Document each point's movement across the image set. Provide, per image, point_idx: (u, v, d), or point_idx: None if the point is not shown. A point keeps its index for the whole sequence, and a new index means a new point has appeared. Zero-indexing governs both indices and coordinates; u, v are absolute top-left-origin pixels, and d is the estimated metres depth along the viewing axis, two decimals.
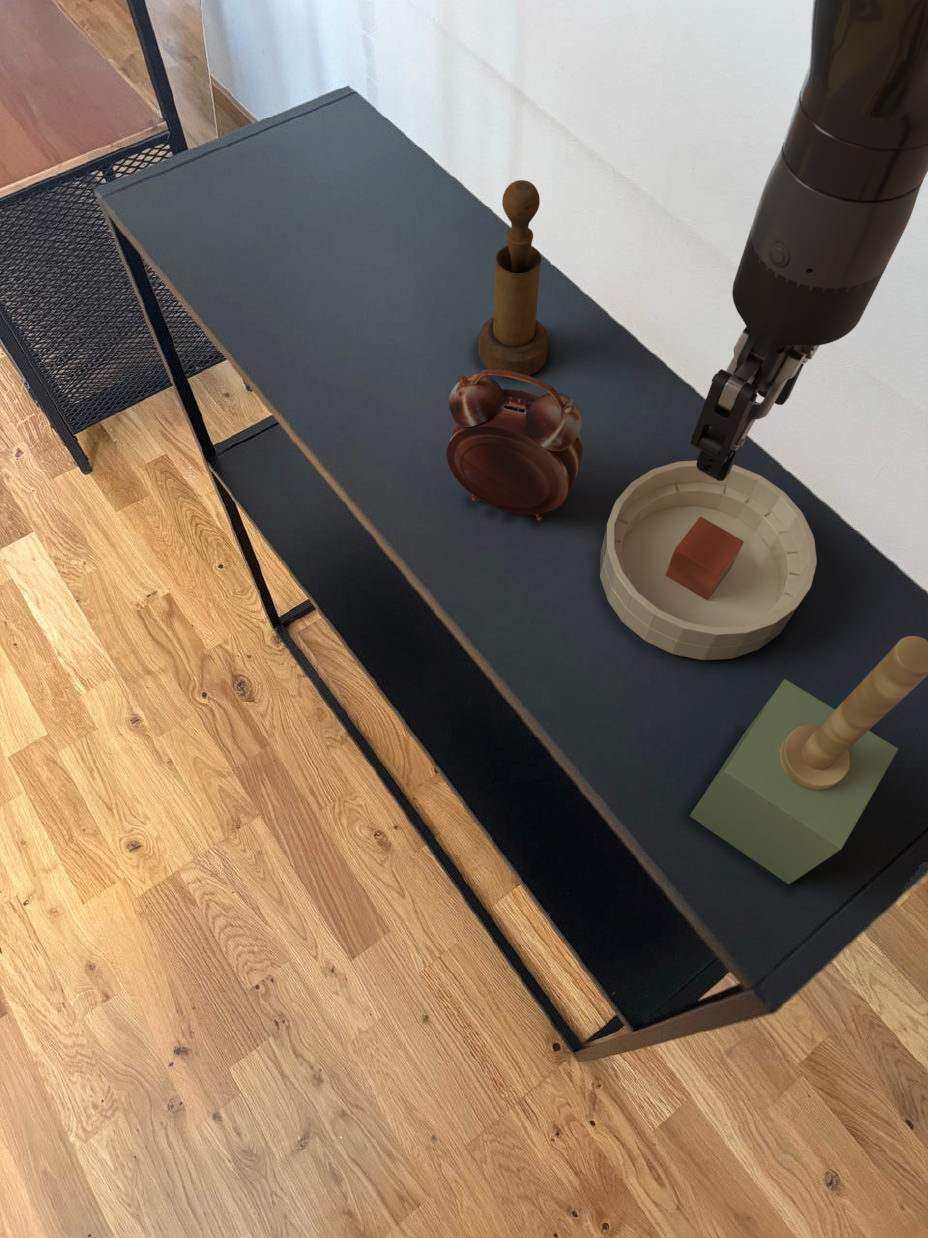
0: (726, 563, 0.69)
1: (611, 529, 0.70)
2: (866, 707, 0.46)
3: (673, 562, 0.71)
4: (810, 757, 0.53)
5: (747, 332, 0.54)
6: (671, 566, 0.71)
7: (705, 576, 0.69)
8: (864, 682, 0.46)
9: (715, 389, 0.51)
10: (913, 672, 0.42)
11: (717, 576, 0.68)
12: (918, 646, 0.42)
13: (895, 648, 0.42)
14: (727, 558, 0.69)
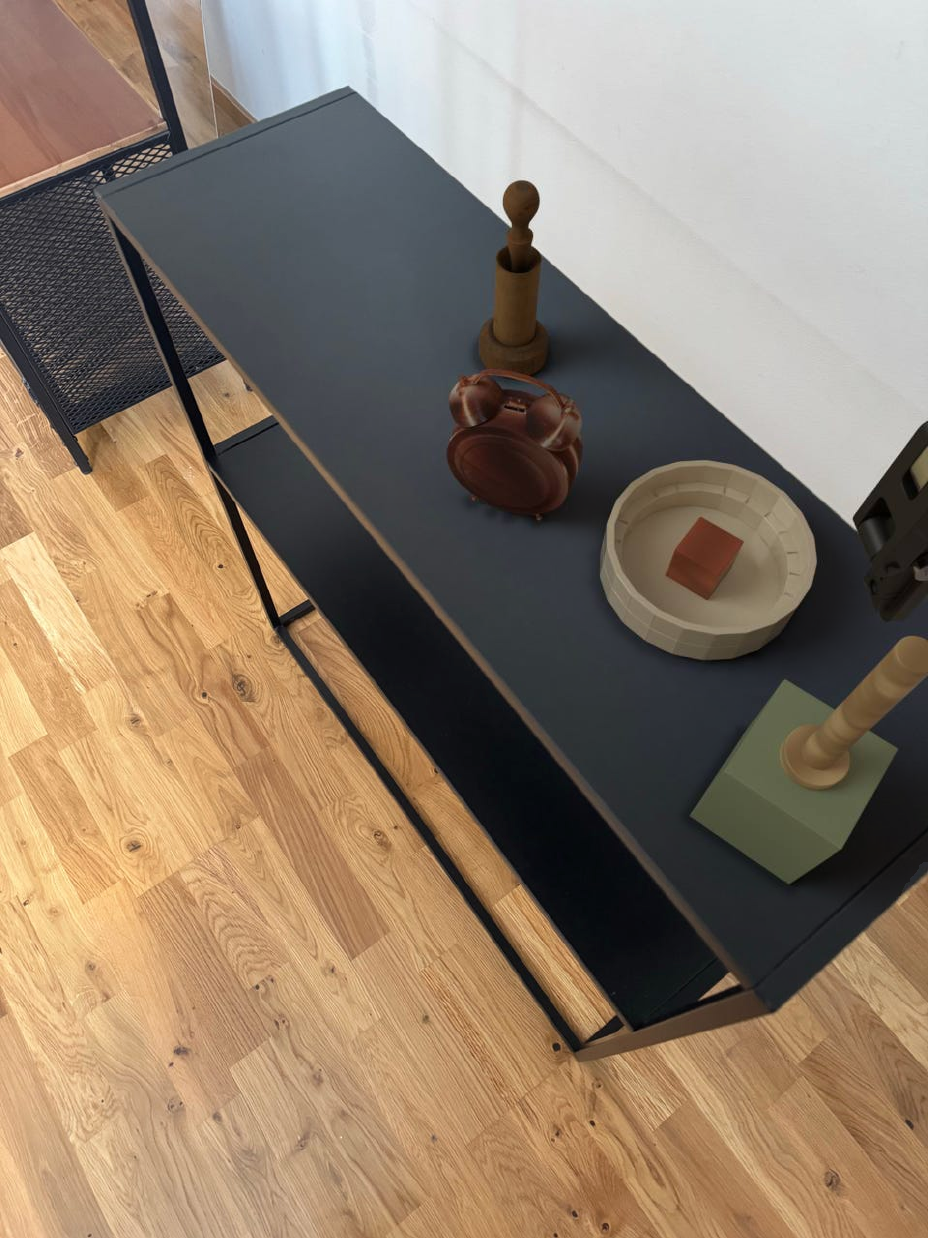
0: (726, 563, 0.69)
1: (611, 529, 0.70)
2: (866, 707, 0.46)
3: (673, 562, 0.71)
4: (810, 757, 0.53)
5: None
6: (671, 566, 0.71)
7: (705, 576, 0.69)
8: (864, 682, 0.46)
9: (918, 440, 0.29)
10: (913, 672, 0.42)
11: (717, 576, 0.68)
12: (918, 646, 0.42)
13: (895, 648, 0.42)
14: (727, 558, 0.69)
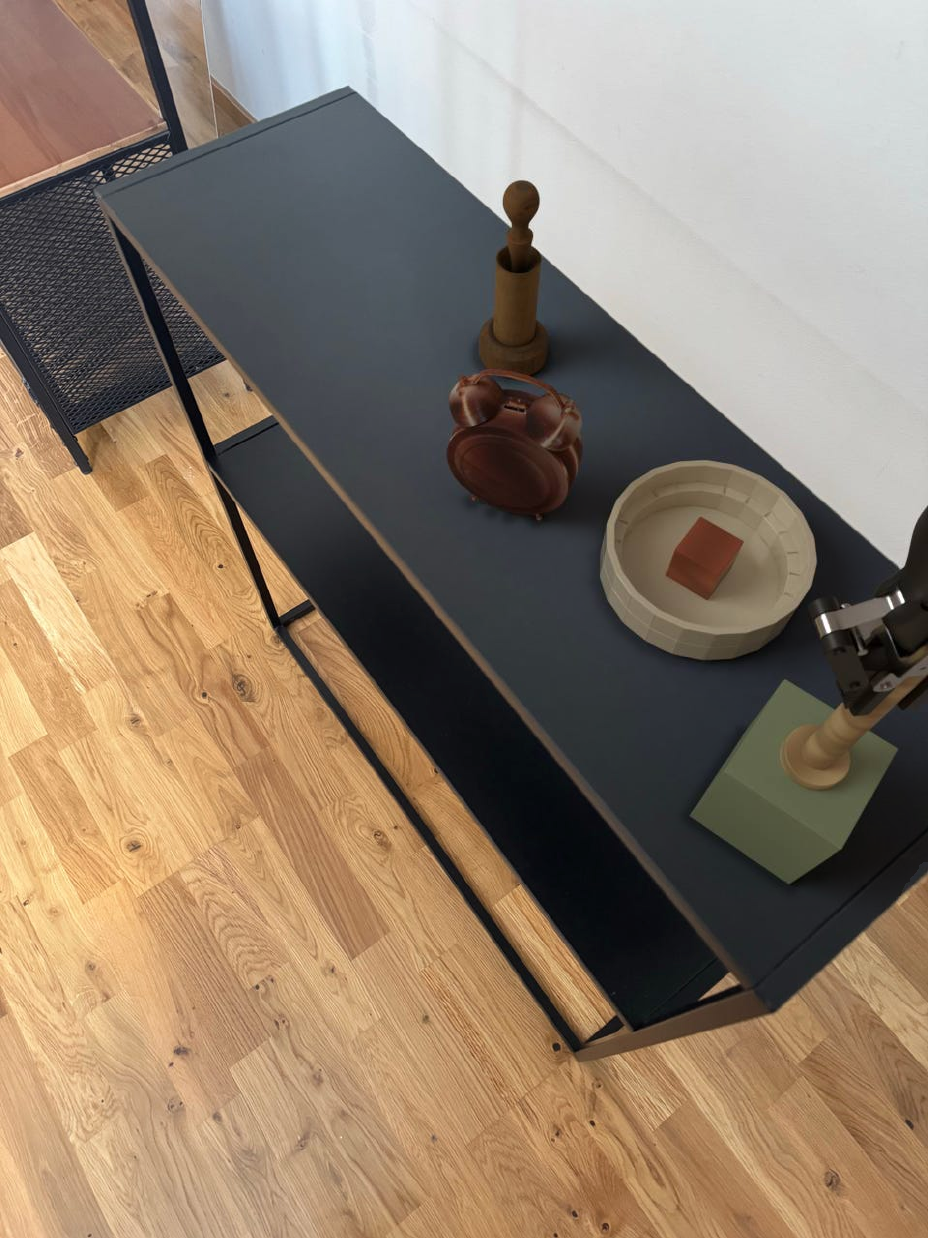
0: (726, 563, 0.69)
1: (611, 529, 0.70)
2: None
3: (673, 562, 0.71)
4: (810, 757, 0.53)
5: None
6: (671, 566, 0.71)
7: (705, 576, 0.69)
8: None
9: (811, 616, 0.39)
10: None
11: (717, 576, 0.68)
12: None
13: None
14: (727, 558, 0.69)
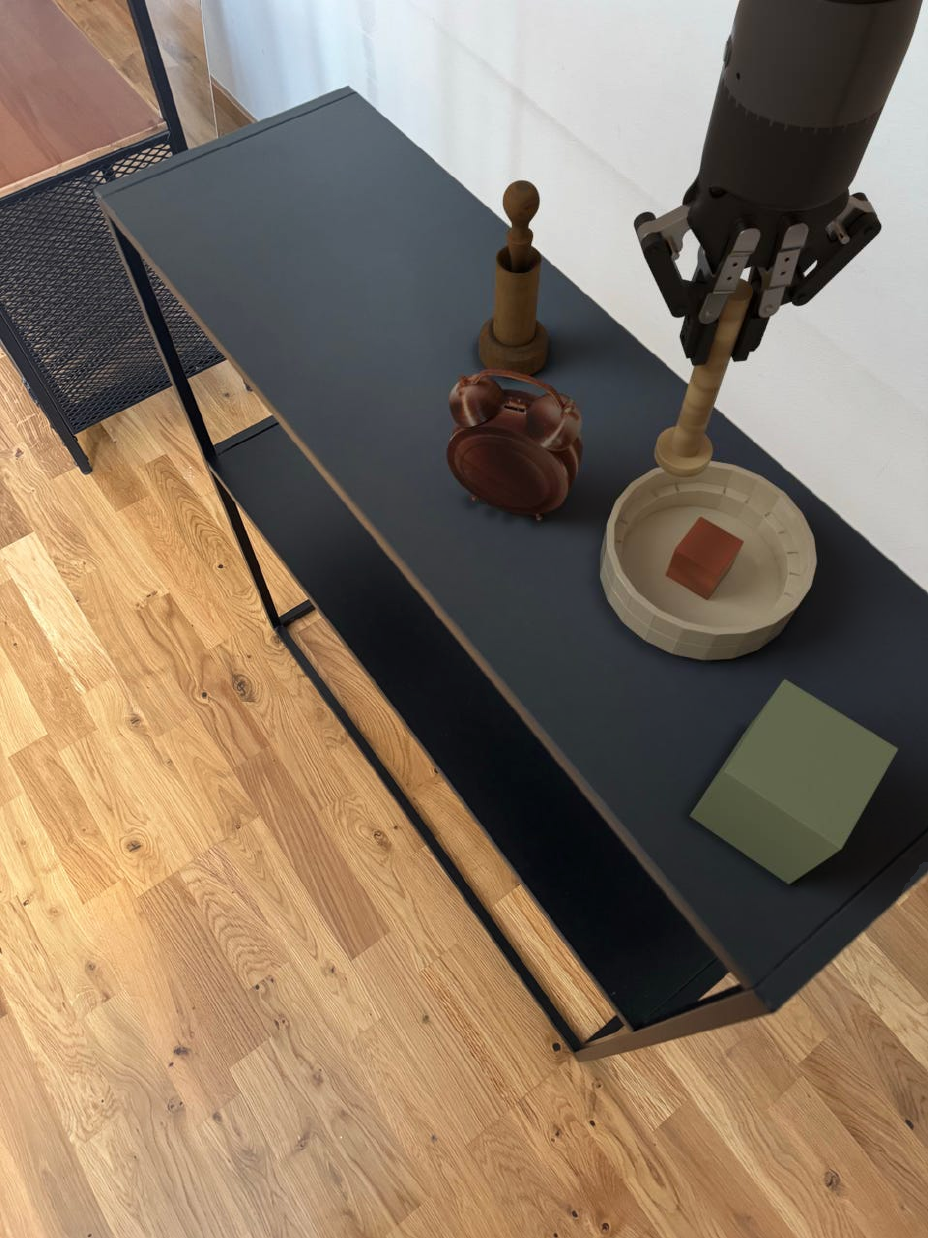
0: (726, 563, 0.69)
1: (611, 529, 0.70)
2: None
3: (673, 562, 0.71)
4: (676, 443, 0.62)
5: None
6: (671, 566, 0.71)
7: (705, 576, 0.69)
8: None
9: None
10: (730, 302, 0.51)
11: (717, 576, 0.68)
12: None
13: None
14: (727, 558, 0.69)
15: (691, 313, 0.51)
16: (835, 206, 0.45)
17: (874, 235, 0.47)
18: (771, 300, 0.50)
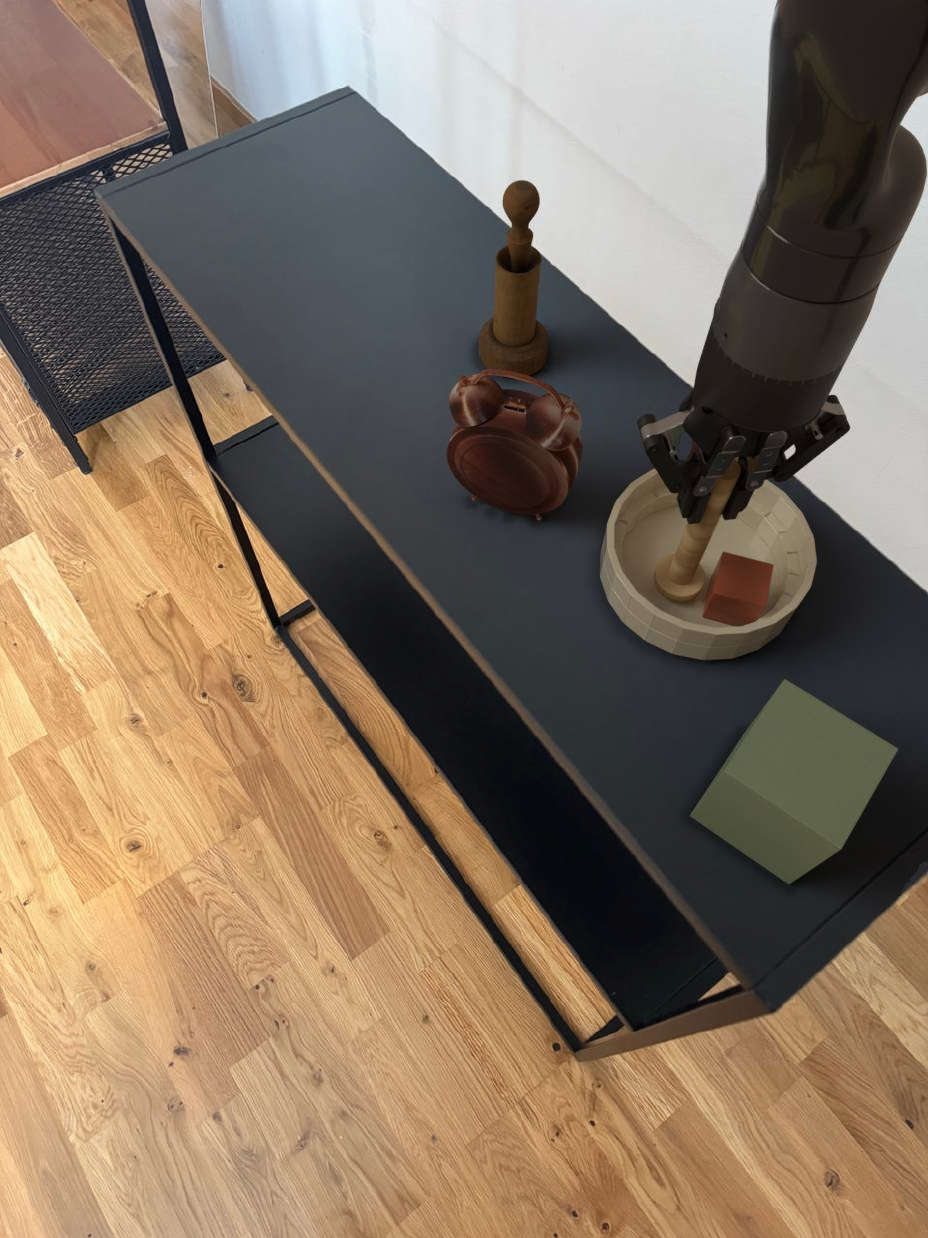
0: (767, 592, 0.67)
1: (611, 529, 0.70)
2: None
3: (712, 604, 0.69)
4: (673, 574, 0.70)
5: None
6: (709, 608, 0.69)
7: (749, 610, 0.68)
8: None
9: None
10: (721, 480, 0.58)
11: (764, 607, 0.67)
12: None
13: None
14: (766, 587, 0.68)
15: (687, 488, 0.59)
16: None
17: (844, 433, 0.55)
18: (755, 479, 0.58)
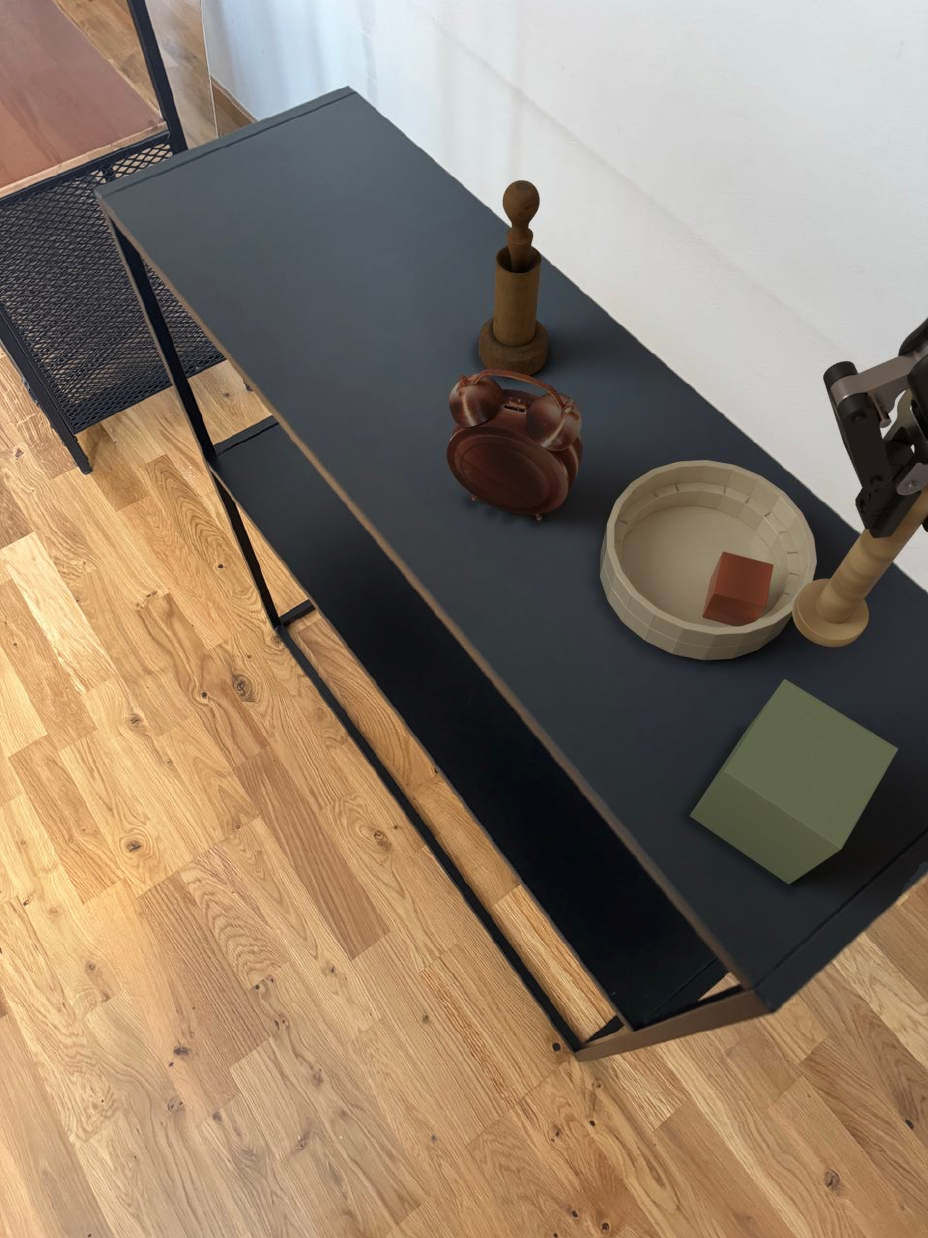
0: (767, 592, 0.67)
1: (611, 529, 0.70)
2: None
3: (712, 604, 0.69)
4: (825, 609, 0.49)
5: None
6: (709, 608, 0.69)
7: (749, 610, 0.68)
8: None
9: (826, 388, 0.35)
10: None
11: (764, 607, 0.67)
12: None
13: None
14: (766, 587, 0.68)
15: None
16: None
17: None
18: None
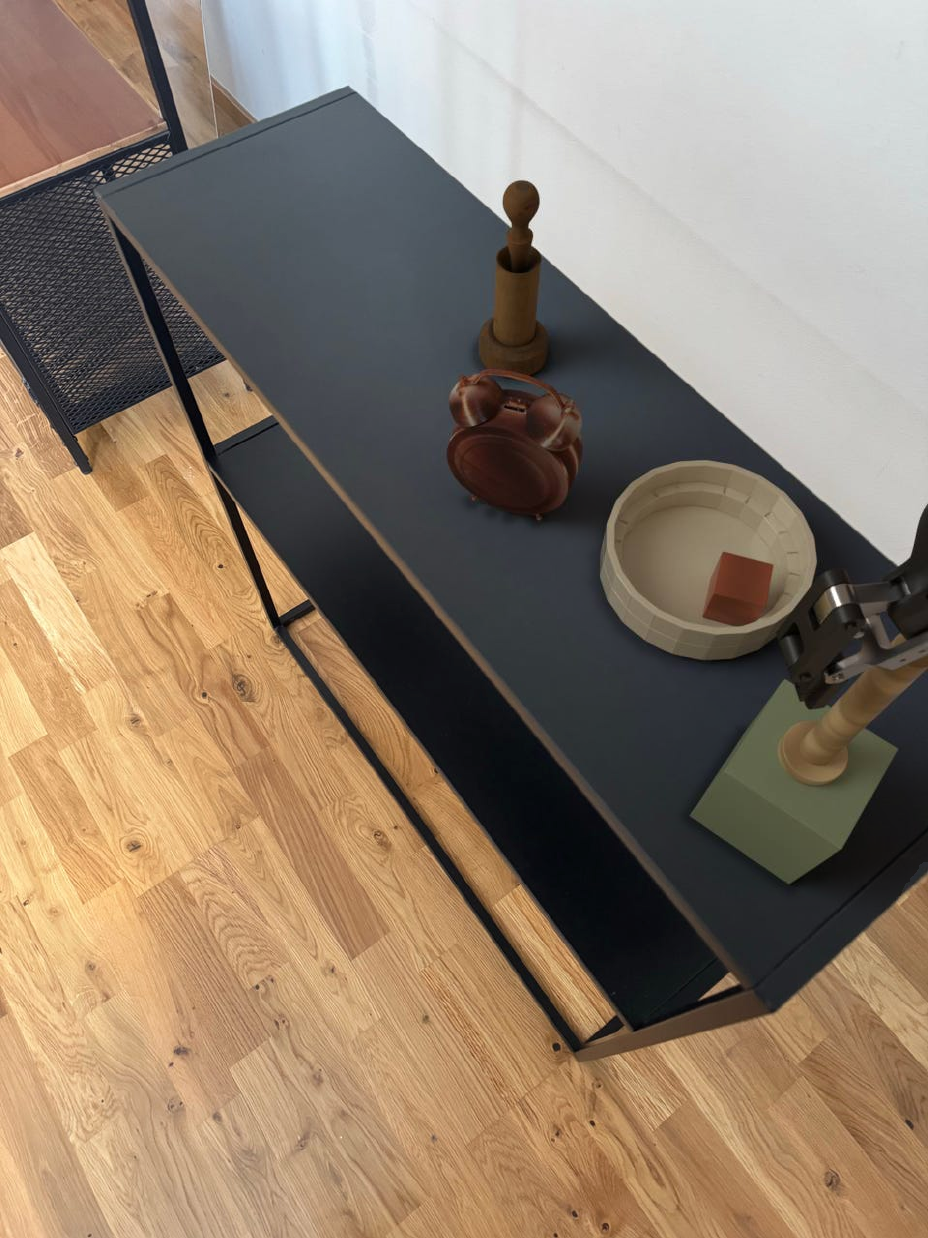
0: (767, 592, 0.67)
1: (611, 529, 0.70)
2: (864, 702, 0.46)
3: (712, 604, 0.69)
4: (808, 753, 0.54)
5: None
6: (709, 608, 0.69)
7: (749, 610, 0.68)
8: (862, 678, 0.46)
9: (818, 586, 0.37)
10: (910, 668, 0.42)
11: (764, 607, 0.67)
12: None
13: (892, 644, 0.43)
14: (766, 587, 0.68)
15: None
16: None
17: None
18: None
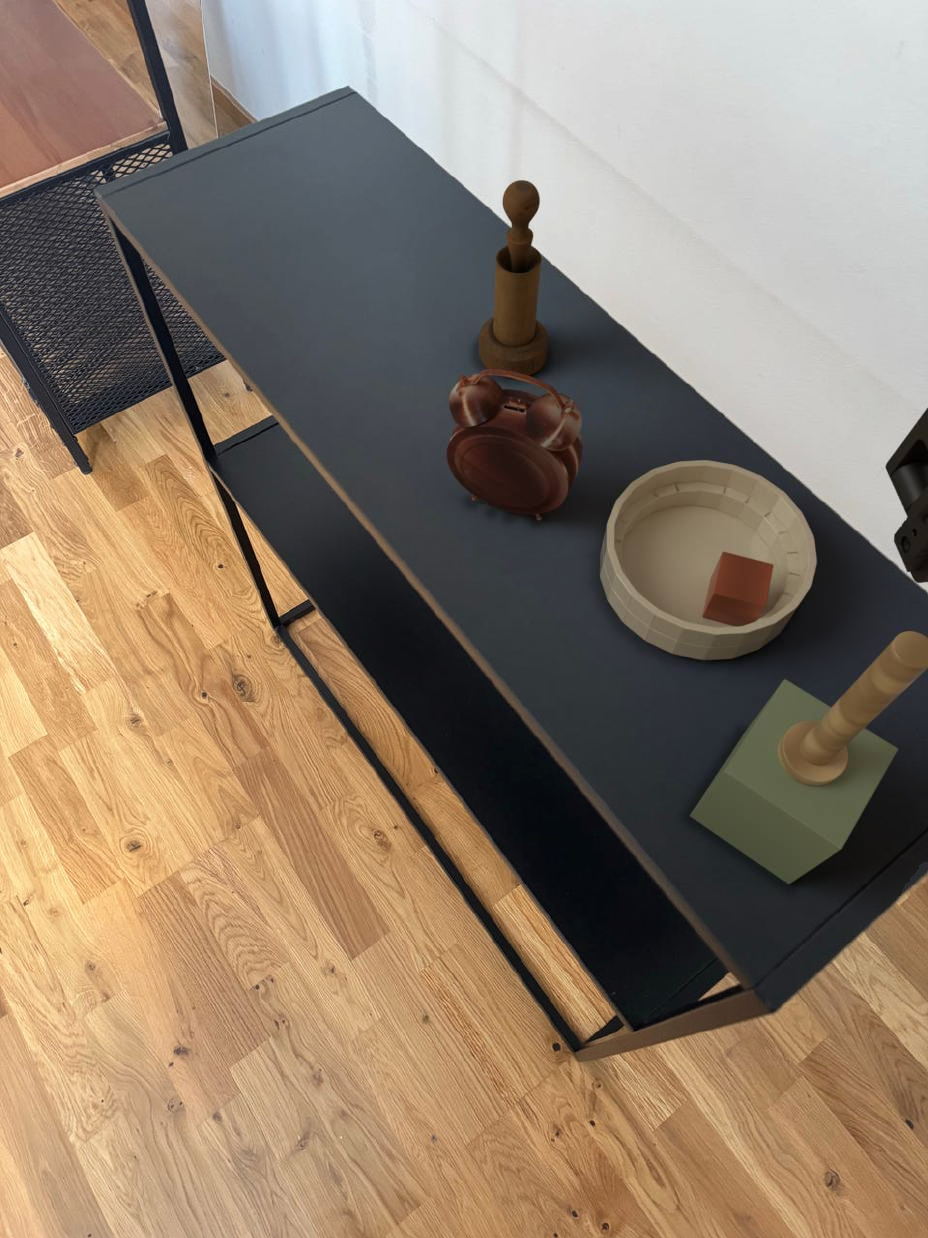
0: (767, 592, 0.67)
1: (611, 529, 0.70)
2: (864, 702, 0.46)
3: (712, 604, 0.69)
4: (808, 753, 0.54)
5: None
6: (709, 608, 0.69)
7: (749, 610, 0.68)
8: (862, 678, 0.46)
9: None
10: (910, 668, 0.42)
11: (764, 607, 0.67)
12: (915, 641, 0.43)
13: (892, 644, 0.43)
14: (766, 587, 0.68)
15: None
16: None
17: None
18: None
